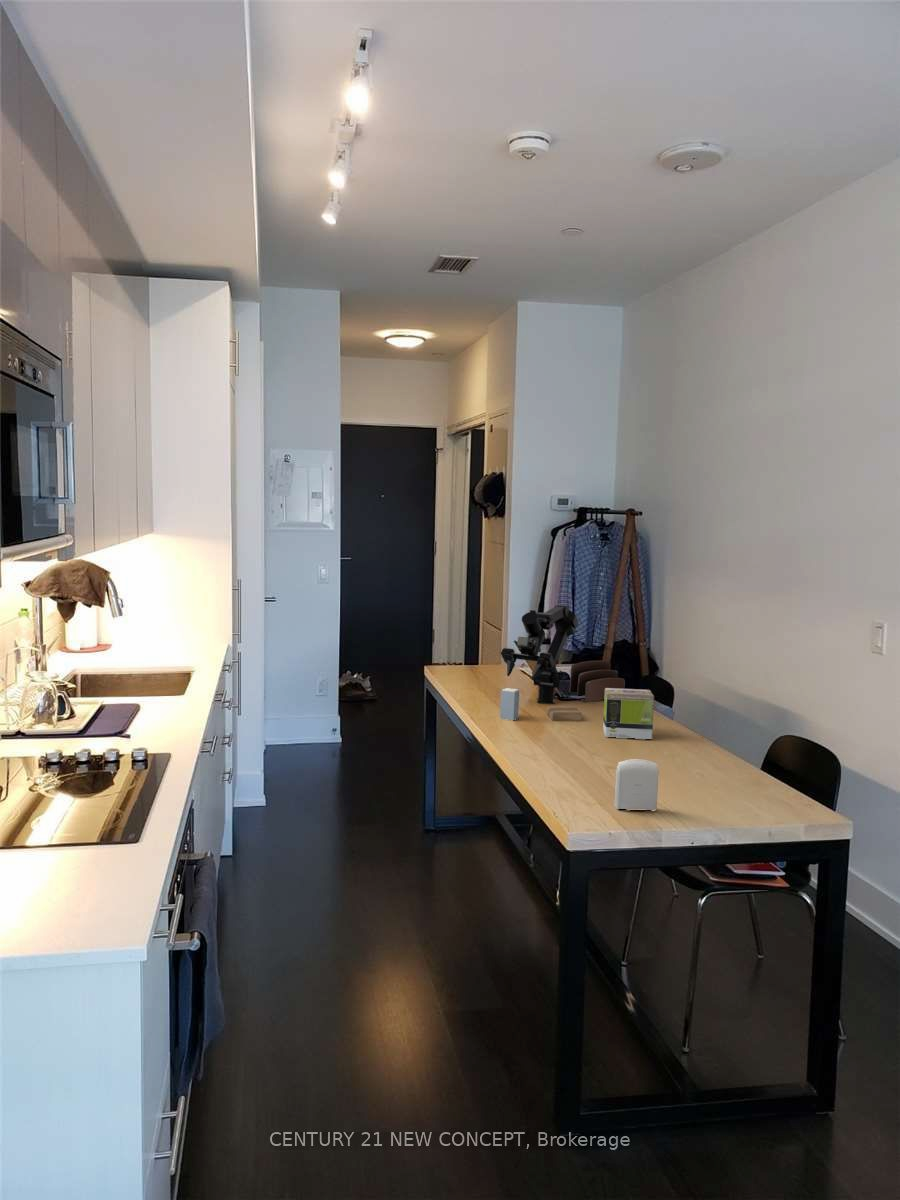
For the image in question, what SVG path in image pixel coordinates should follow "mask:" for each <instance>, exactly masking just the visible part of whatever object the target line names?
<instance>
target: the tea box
mask: <svg viewBox="0 0 900 1200" xmlns="http://www.w3.org/2000/svg"><path fill="white" fill-rule="evenodd" d="M654 703H655V695H654V694H653V692H652V691H651V689H641V688H640V689H639V688H638V689H637V688H636V689H635V688H625V689H620V688H605V695H604V701H603V718H602V719H603V721H602V725H603V727H602V730H603V733H604V737H605V738H608V737H616V738H615V739H627V738H635V739H634V740H645V739H652V740H653V728H654V710H655V709H654V707H655V705H654Z"/></svg>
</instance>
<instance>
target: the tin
mask: <svg viewBox="0 0 900 1200" xmlns="http://www.w3.org/2000/svg"><path fill="white" fill-rule="evenodd" d="M499 706H500V708H499V709H500V710H499V719H500V718H502V719H501V720H503V719H508V720H507V721H509V720H515V719H517V720H519V709H520V690H519V689H517V688H509V687H506V688H503V689H501V690H500V705H499ZM515 721H516V720H515Z"/></svg>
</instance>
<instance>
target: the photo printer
mask: <svg viewBox="0 0 900 1200" xmlns="http://www.w3.org/2000/svg"><path fill="white" fill-rule="evenodd" d="M615 771H616V773H615V785H614V786H615V791H614V808H615V807H616V808H618V809H646V810H654V809H656V808H657V807H658V795H659V794H658V791H659V790H658V789H659V773H660V771H659V769H658V764H657V763H655V762H654V761H651V760H647V759H640V758H639V759H635V758H634V759H631V758H630V759H626V760H622V761H619V762H617V766H616V770H615Z"/></svg>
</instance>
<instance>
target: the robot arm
mask: <svg viewBox="0 0 900 1200" xmlns="http://www.w3.org/2000/svg"><path fill="white" fill-rule="evenodd" d="M521 622H522V625H523V627H524V630H525V632H526V634H527V637H525V636H518V637H517V643H516V646H517V647H518V651H519V652H520V653H518V652H516V651H515V650H514V648H509V647H508V648H507V647H504V648H502V649H501V652H500V655H501V657H502V659H503V662H504V663H505V664H506V667H507V668H506V675H507V677H510V675H511V674H512V672H513V669H514V668H515V665H516V664H515V663H516V661H517V660H523V661H527V662H535V663H536V665H535V668H534V669H533V672H532V675H531V680H533V681H532V682H533V686H538V695H537V697H536V703H537V704H549V705H551V704H552V705H553V704H554V705H555V704H556V703H555V699H554V698H555V697H554V695H555V689H556V688H560V687H559V686H560V685H561V684H560V682H561V679H560V677H559V675H558V669H557V663H558V662H559V659H560V656H561V654H562V651H563V649H564V647H565V645H566V642H567V639H568V638H569V637H570V636H571V635H573V634H574V633H575V632H576V629H577V628H578V626H579V619H578V617H577V615H576V613H574V612H573V611H571V610H570V609H569V606H567V605H560V604H556V605H554V607H552V608H550V609H548V610H547V611H545V612H537V611H536V610H534V609H530V611H529V612H526V613H525V614H524V615H521ZM553 627H555V630H556V631H555V633H554V635H553V637H552V640H551V643H550V645H549V648H548V650H547V652H542V649H541V647H542V645H543V642H544V641H546V639H547V637H546V631H547V630H548V631H550V630H551V629H552V628H553Z"/></svg>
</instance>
